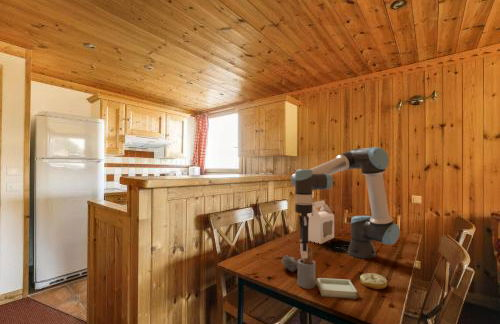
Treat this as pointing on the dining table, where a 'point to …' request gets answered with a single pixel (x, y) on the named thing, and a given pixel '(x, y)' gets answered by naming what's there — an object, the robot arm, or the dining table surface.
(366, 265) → the dining table surface
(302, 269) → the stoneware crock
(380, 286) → the decorated donut
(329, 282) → the sage tray
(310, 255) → the walnut dowel
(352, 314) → the dining table surface
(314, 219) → the gable box
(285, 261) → the fossil
